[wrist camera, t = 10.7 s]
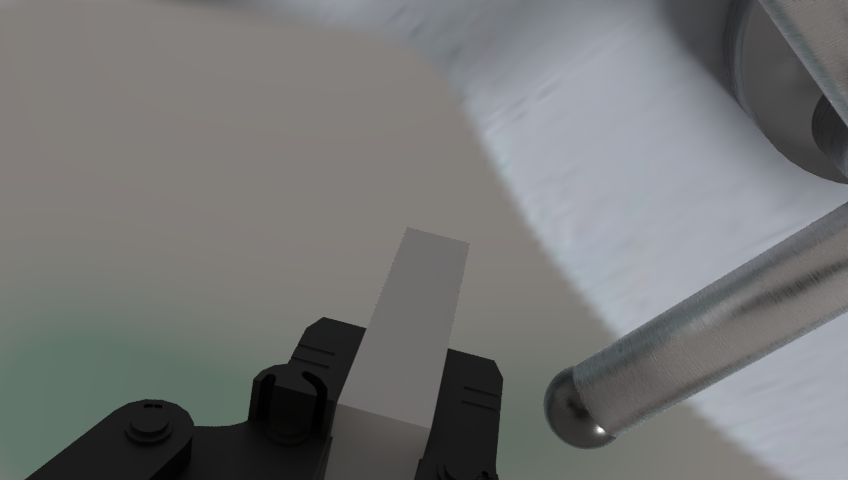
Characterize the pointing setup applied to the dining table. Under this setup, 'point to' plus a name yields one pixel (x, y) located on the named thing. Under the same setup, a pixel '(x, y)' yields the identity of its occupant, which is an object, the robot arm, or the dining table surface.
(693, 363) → the capstan
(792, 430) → the dining table surface
